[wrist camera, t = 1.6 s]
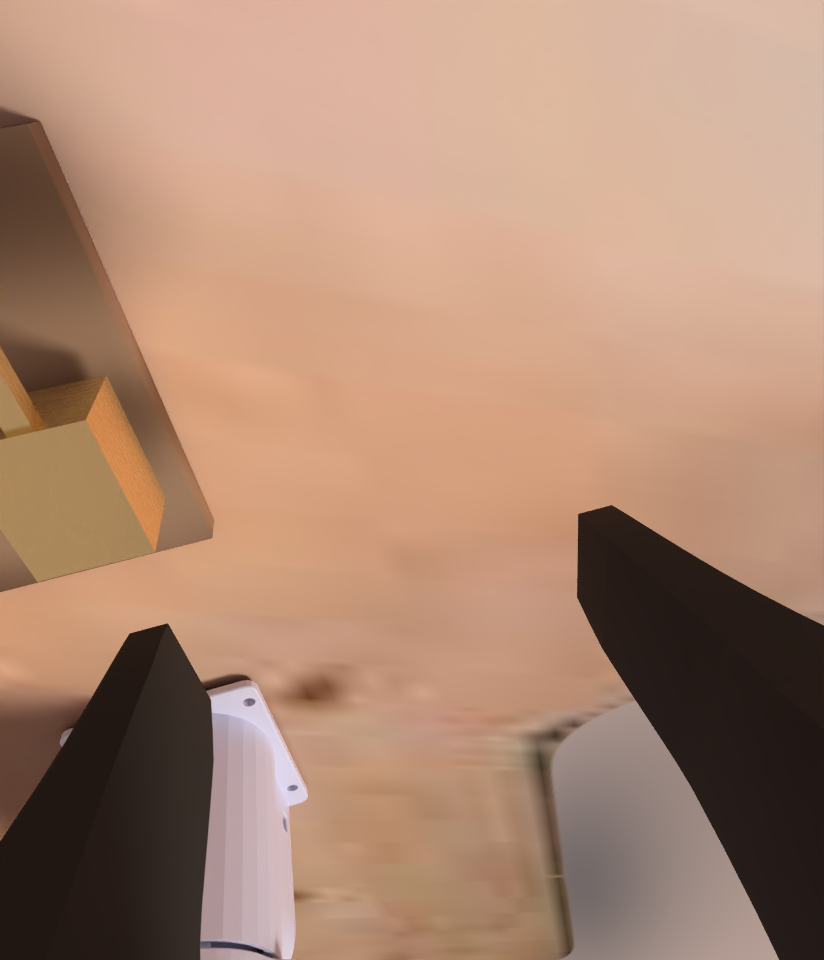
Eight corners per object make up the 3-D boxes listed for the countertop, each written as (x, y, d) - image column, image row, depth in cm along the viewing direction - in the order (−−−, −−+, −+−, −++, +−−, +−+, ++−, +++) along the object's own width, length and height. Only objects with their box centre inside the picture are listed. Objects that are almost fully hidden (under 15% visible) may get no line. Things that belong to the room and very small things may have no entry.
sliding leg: (165, 497, 18) (155, 551, 16) (61, 523, 18) (37, 581, 16) (48, 253, 14) (14, 285, 12) (-90, 281, 14) (-149, 318, 12)
